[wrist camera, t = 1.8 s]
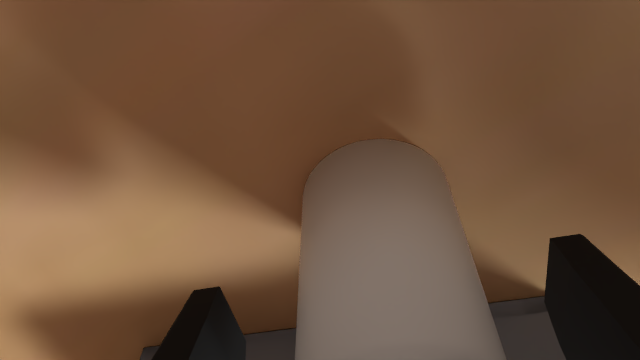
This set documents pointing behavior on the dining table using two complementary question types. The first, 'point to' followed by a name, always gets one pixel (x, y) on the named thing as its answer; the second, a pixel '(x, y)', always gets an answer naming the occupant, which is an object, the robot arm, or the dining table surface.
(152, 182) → the dining table surface
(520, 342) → the walled box
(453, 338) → the bottle
